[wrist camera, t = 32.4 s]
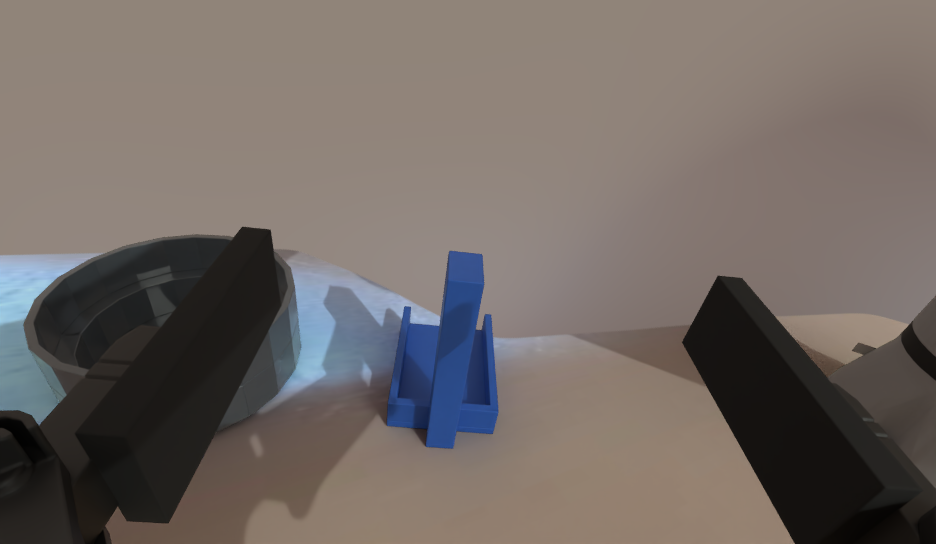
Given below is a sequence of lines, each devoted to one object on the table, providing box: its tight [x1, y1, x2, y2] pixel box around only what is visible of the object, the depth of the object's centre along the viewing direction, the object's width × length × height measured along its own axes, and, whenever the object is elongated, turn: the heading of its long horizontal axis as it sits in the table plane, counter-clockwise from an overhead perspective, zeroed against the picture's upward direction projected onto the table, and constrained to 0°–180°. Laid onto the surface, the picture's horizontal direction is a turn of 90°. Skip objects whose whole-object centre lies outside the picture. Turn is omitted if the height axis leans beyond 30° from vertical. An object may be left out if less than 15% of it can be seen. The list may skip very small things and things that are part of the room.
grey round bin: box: [23, 235, 301, 432], centre depth 34 cm, size 16×16×7 cm
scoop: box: [387, 251, 498, 449], centre depth 34 cm, size 12×8×15 cm, turn 1°
